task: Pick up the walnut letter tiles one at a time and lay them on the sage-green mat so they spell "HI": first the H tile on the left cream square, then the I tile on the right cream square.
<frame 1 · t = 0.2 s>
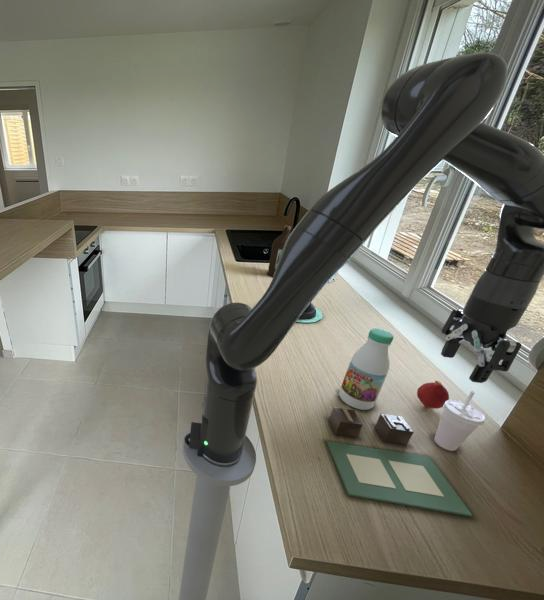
hand: (460, 368, 67), 17 cm above the counter, tool pointing down, fingers open, 8 cm apart
tile I: (342, 428, 73), on the counter
smoothie: (444, 444, 70), on the counter
tile H: (390, 435, 72), on the counter
onion: (426, 407, 81), on the counter
word mat: (391, 475, 63), on the counter
chocolate cake: (294, 311, 128), on the counter
food container: (323, 278, 163), on the counter
milk bottle: (355, 400, 82), on the counter
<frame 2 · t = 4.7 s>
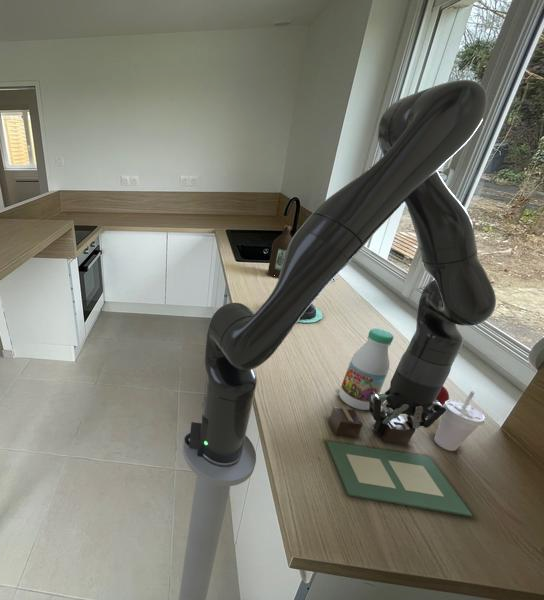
hand: (390, 434, 72), 0 cm above the counter, tool pointing down, fingers closed on tile H, 4 cm apart
tile H: (390, 435, 72), on the counter, touching gripper
everything else where it was.
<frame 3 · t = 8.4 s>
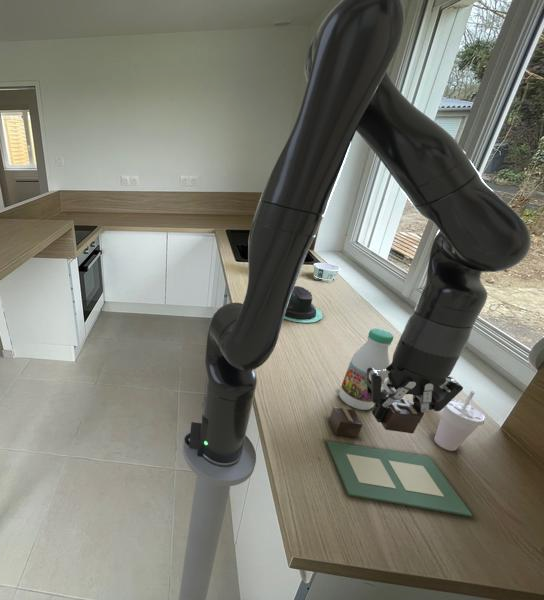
hand: (393, 420, 58), 13 cm above the counter, tool pointing down, fingers closed on tile H, 4 cm apart
tile H: (392, 422, 59), point 13 cm above the counter, touching gripper
everything else where it was.
when the fingers open (1 cm above the counter, at t = 12.1 s): tile H stays where it is, resting on word mat.
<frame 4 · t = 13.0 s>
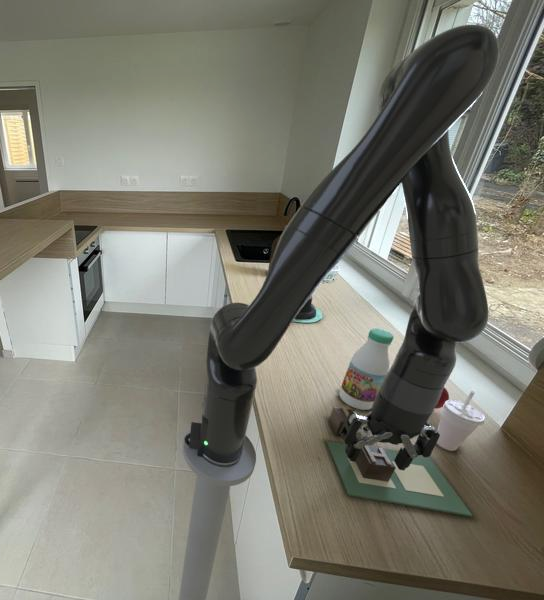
hand: (374, 461, 62), 3 cm above the counter, tool pointing down, fingers open, 8 cm apart
tile H: (370, 469, 63), point 1 cm above the counter, touching word mat
everything else where it was.
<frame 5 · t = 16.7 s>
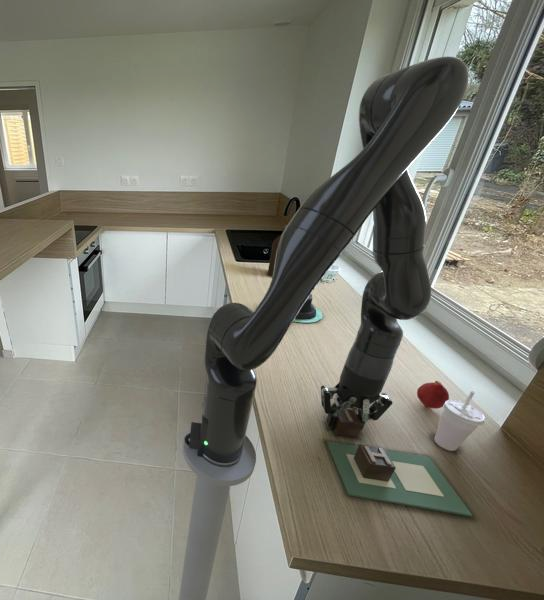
hand: (342, 427, 73), 0 cm above the counter, tool pointing down, fingers closed on tile I, 4 cm apart
tile I: (342, 428, 73), on the counter, touching gripper
everything else where it was.
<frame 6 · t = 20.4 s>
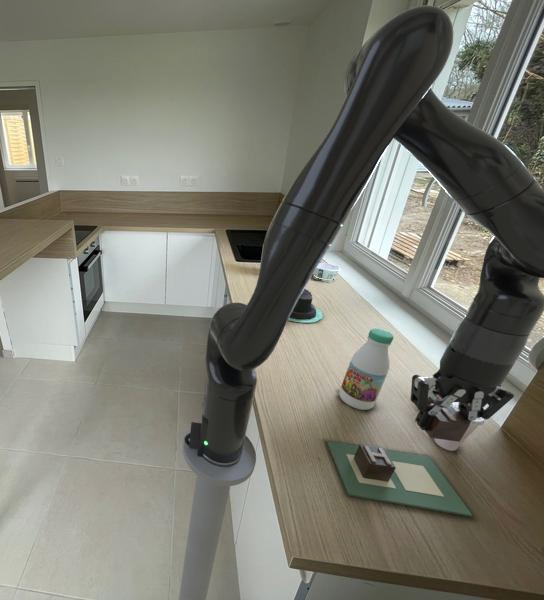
hand: (437, 428, 57), 13 cm above the counter, tool pointing down, fingers closed on tile I, 4 cm apart
tile I: (436, 429, 58), point 12 cm above the counter, touching gripper
everything else where it was.
when the fingers open (1 cm above the counter, at t = 24.0 s): tile I stays where it is, resting on word mat.
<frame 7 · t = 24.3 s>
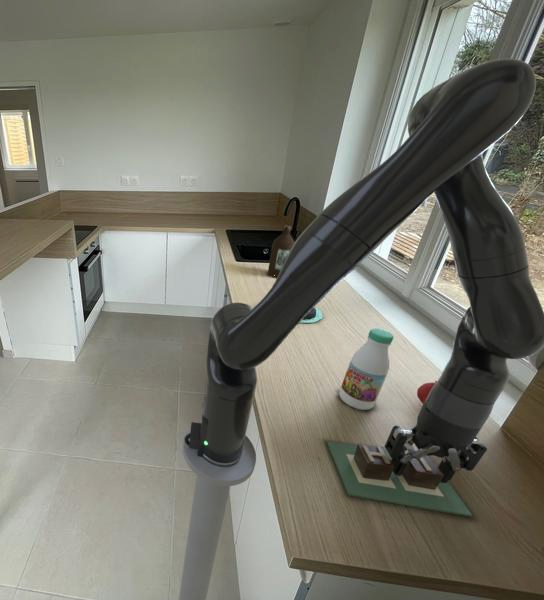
hand: (417, 475, 62), 1 cm above the counter, tool pointing down, fingers open, 7 cm apart
tile I: (414, 477, 62), point 1 cm above the counter, touching word mat
tile H: (370, 469, 63), point 1 cm above the counter, touching gripper, word mat
everything else where it was.
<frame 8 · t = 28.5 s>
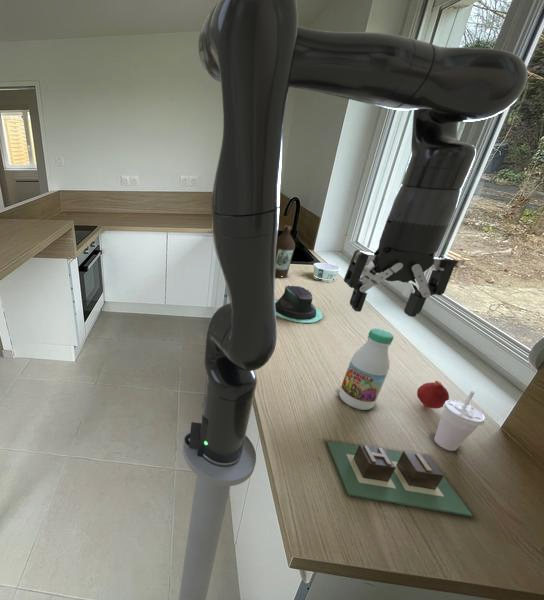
hand: (381, 312, 56), 32 cm above the counter, tool pointing down, fingers open, 8 cm apart
tile H: (370, 469, 63), point 1 cm above the counter, touching word mat
everything else where it was.
at the end: tile H 0.1 cm from the target spot on the word mat, point 0.6 cm above the word mat's base; tile I 0.1 cm from the target spot on the word mat, point 0.6 cm above the word mat's base; tile I tilted 0° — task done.
